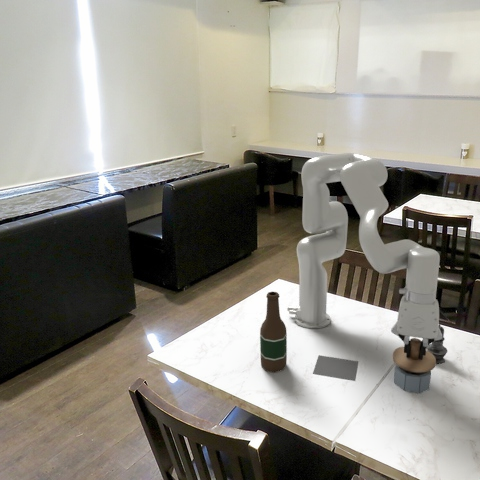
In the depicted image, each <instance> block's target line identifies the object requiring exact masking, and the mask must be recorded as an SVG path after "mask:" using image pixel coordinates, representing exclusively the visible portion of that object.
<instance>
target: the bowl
mask: <svg viewBox="0 0 480 480" xmlns="http://www.w3.org/2000/svg"><path fill="white" fill-rule="evenodd" d="M394 364H395V363H394ZM393 375H394V376H393V383H394V384H395V385H396V386H398V387H399V388H400V389H401V390H403V391H406V392H409V393H414V394H418V395H419V394H422V393H424V392H427V391H429V390H430V387H431V378H432V370H431V371H428V372H422V373H419V372H411V371H407V370H405V369H402V368H401V367H399V366H398V365H396V364H395V365H394V374H393Z"/></svg>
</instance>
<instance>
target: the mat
mask: <svg viewBox="0 0 480 480" xmlns="http://www.w3.org/2000/svg"><path fill="white" fill-rule="evenodd" d="M358 366H359V361H358V360H352V359H346V358H339V357H332V356H326V355H320V354H319V355H318V356H317V360H316V363H315V365H314V369H313V372H312V374H313V375H318V376H324V377H329V378H335V379H341V380H348V381H354V382H356V378H357V372H358Z"/></svg>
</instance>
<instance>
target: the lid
mask: <svg viewBox="0 0 480 480" xmlns="http://www.w3.org/2000/svg"><path fill="white" fill-rule="evenodd" d="M409 339H410V354H409V357H408V358H407V357H406V353H404V346H400V347H397V348H395V349H394V350H393V352H392V361H393V363H394V364H396V365H398V366H399V367H401V368H402V369H405V370H407V371H411V372H419V373H422V372H428V371H431V372H432V371H433V370H434V368H436V366H437V364H436V358H435V357H434V355H433V354H432V353H430V352H429V351H427V349H426V355H425V356H424V355H423V359H422V360H420V348H421V341H422V340H421V339H420V338H418V337H412V338H409Z"/></svg>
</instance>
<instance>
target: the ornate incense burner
mask: <svg viewBox="0 0 480 480" xmlns="http://www.w3.org/2000/svg"><path fill="white" fill-rule="evenodd" d="M439 329H440V331H441V333H442V337H443V338H442V339H440V340H435V341H434V342H432V343H431V344H429V345H428V346H427V347H426V350H427V351H429V352H430V353H432V354H433V355H434V357H435V358H436V365H443V364H445V363H446V358H445V356H446V355H447V353H448V349H447V347H445V346H444V341H445V340H446V339H445V336H444V335H445V328H444V327H443V326H442V325H441V324H440V323H439Z"/></svg>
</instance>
